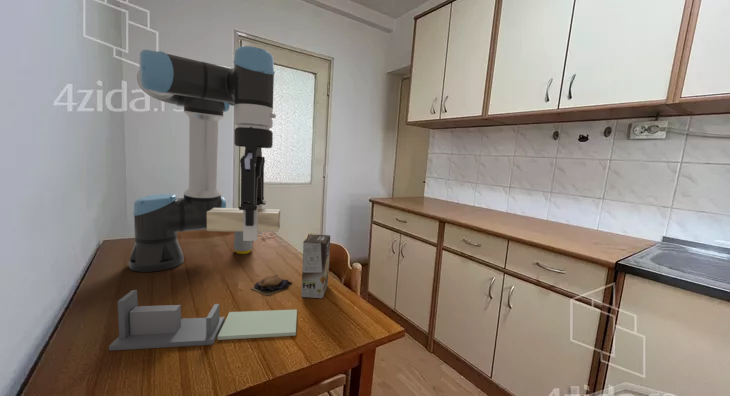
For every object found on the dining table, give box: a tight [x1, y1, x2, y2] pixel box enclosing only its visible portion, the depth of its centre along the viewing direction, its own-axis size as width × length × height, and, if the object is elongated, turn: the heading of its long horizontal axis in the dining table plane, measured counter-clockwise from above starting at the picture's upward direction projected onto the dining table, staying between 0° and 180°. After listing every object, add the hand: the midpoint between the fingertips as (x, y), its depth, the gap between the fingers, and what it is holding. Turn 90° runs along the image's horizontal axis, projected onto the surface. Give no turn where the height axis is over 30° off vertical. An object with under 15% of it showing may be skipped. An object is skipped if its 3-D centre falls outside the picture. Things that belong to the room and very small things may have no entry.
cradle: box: [108, 289, 225, 351], centre depth 63 cm, size 9×18×9 cm, turn 101°
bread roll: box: [250, 274, 293, 297], centre depth 90 cm, size 11×8×4 cm
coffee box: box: [300, 233, 331, 299], centre depth 88 cm, size 9×6×16 cm
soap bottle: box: [233, 231, 254, 255], centre depth 118 cm, size 7×7×18 cm
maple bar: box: [206, 207, 281, 233], centre depth 65 cm, size 5×14×4 cm, turn 101°
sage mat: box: [217, 308, 298, 341], centre depth 69 cm, size 10×16×1 cm, turn 101°
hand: (252, 236), depth 66 cm, fingers closed on maple bar, 5 cm apart
